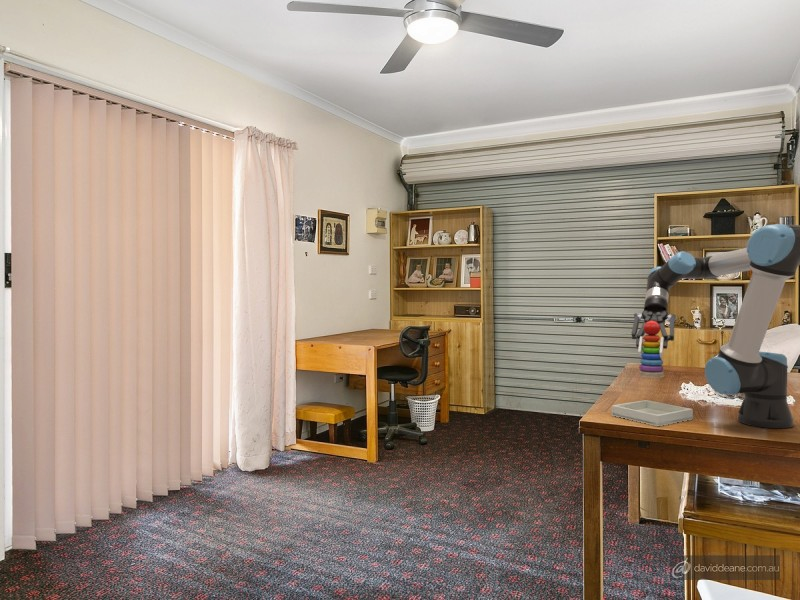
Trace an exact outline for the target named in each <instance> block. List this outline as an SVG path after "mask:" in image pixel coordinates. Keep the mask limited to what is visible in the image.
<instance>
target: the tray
mask: <svg viewBox="0 0 800 600" xmlns="http://www.w3.org/2000/svg"><path fill="white" fill-rule="evenodd" d="M615 416H616V417H615ZM611 417H615V418H619V417H621V418H620V419H623V418H625V419H624V420H627V419H629V420H628V421H632V420H633V421H632V422H636V421H637V422H636V423H640V422H641V424H644V423H646V424H645V425H648V424H650V426H653V425H654V426H653V427H657V426H660V427H663V425H664V426H668V424H669V425H672V424H673V423H674V424H678V423H677V422H679V423H683V422H682V421H684V422H688V421H687V420H689V421H693V420H694V409H693V408H688V407H684V406H683V407H682V406H679V405H673V404H669V403H664V402H658V401H655V400H647V399H644V400H638V401H632V402H625V403H619V404H613V405H611ZM692 419H693V420H692ZM674 424H673V425H674Z"/></svg>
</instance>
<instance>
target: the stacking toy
mask: <svg viewBox="0 0 800 600" xmlns="http://www.w3.org/2000/svg"><path fill="white" fill-rule="evenodd" d="M644 331H645V334H646V335H645V334H644V336H643V347H642V355H641V359H640V364H639V367H638V368H639V371H638V375H639V376H640V377H642V378H651V379H660V378H663V377H664V376H665V372H664V371H663V370H664V366H663V364H664V361H663V359H662V358H660V343H661V337H660V336H659V335H658V334H659V333H660V332H661V330H660V325H659V324H658V323H657V322H655V321H648V322H647V323H646V324H645V325H644Z"/></svg>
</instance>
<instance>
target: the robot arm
mask: <svg viewBox="0 0 800 600" xmlns="http://www.w3.org/2000/svg"><path fill="white" fill-rule="evenodd" d="M798 266H800V224H784V223H783V224H781V223H775V224H767V225H764V226H761V227H760V228H757V229H755V231H754V232H753V233H752V234H751V235H750V237H749V239H748V240H747V244H746V247H744V248H740V249H735V250H731V251H726V252H722V253H717V254H713V255H709V256H705V257H694V256H693V255H692V254H691V253H690V252H686V251H679V252H677V253H675V254H674V255H673V256H671V257H670V258H669V260H667V261H666V262H665V263H664V264H663V265H662V266H655V267H652V268H651V269H650V270H649V273H648V276H647V282H646V291H645V299H644V305H643V306H644V307H643V311H642V312H641V313H639V314H638V313H633V319H634V320H633V324H632V329H631V333H630V335H631V338H632V340H635V347H636V348H638V350H637V353H638V357H641V355H642V353H643V351H642V348H643V347H644V346H643V342H644V336H645V334H646V333H645V331H644V325H645V324H646V323H647V322H648V321H655V322H657V323H658V324H659V325H660V333H661V335H662V336H661V337H660V358H663V357H664V349H667V348H668V344H669V343H668V342H670V341H671V342H672V341H673V342H674V341H675V324H676V321H677V315H676V314H675V313H673V314H669V313H668V307H669V297H670V296H669V295H670V290H671V288H673V286H674V285H676V284H677V283H679V281H680V280H683V279H684V280H688V279H689V280H690V279H691V280H692V279H703V280H712V279H718V278H720V277H721V276H725V275H732V274H738V273H741V272H742V273H743V272H748V271H751V272H752V273H751V276H750V280H749V283H748V285H747V288H746V290H745V293H744V297H743V299H742V302H741V305H740V308H739V310H738V314H737V316H736V320H735V322H734V325H733V327H732V331H731V333H730V336H729V340H728V342H727V343H726V344H723V345H721V347H720V348H719V351H718V354H717V356H713V357H711V358H709V360H707V362H706V364H705V367H704V376H705V379H706V380H707V383H708V385H709V386H710V388H712V389H713V390H714V391H715V392H716V393H718V394H722V395H732V396H733V395H737V394H744V395H743V396H744V400H743V401H741V402H742V403H741V406H740V407H739V410H738V412H737V421H738V422H740V423H742V424H745V425H747V426H752V427H758V428H765V429H766V428H767V429H790V428H792V427H794V417H793V414H792V412H791V408H790V406H789V404H788V399H787V398H788V369H789V365H788V358H787V356H786V355H785V354H782V353H776V352H768V351H761V347H762V344H763V342H764V339H765V337H766V334H767V331H768V329H769V327H770V323H771V321H772V318H773V315H774V312H775V310H776V307H777V305H778V302H779V300H780V297H781V294H782V291H783V289H784V286H785V284H786V280H789V279H792V278H794V277H795V275H796V273H797V270H798ZM641 319H643V320H644V321H643V323H642V324H641V327H640V328H639V325H640V321H641ZM667 319H668V321H669V334H668V333H667V331H666V328H665V324H664V322H665V321H666V320H667ZM638 329H639V330H638ZM641 358H642V357H641Z"/></svg>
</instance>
